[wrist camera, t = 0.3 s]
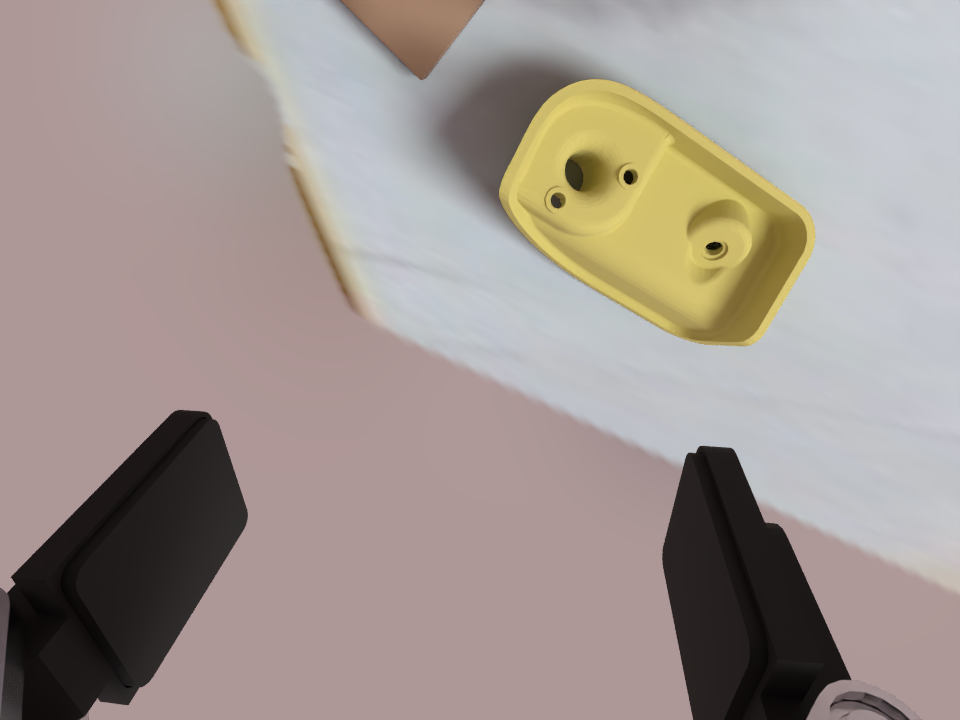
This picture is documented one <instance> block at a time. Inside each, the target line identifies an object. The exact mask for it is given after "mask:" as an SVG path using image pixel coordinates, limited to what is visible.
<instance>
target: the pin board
mask: <svg viewBox="0 0 960 720" xmlns="http://www.w3.org/2000/svg"><path fill="white" fill-rule="evenodd" d="M341 1H342V2H343V3H344V4H345V5H346V6H347V7H348V8H349V9H350V10H351V11H352V12H353V13H354V14H355V15H356V16H357V17H358V18H359V19H360V20H361V21H362V22H363V23H364V24H365V25H366V26H367V27H368V28H369V29H370V30H371V31H372V32H373V33H374V34H375V35H376V36H377V37H378V38H379V39H380V40H381V41H382V42H383V43H384V44H385V45H386V46H387V47H388V48H389V49H390V50H391V51H392V52H393V53H394V54H395V55H396V56H397V57H398V58H399V59H400V60H401V61H402V62H403V63H404V64H405V65H406V66H407V67H408V68H409V69H410V70H411V71H412V72H413V73H414V74H415V75H416V76H417V77H418V78H419V79H420V80H423V79H425V78H426V77H427V76H428V75H429V73H430V72H431V71H432V69H433V68H434V67H435V65H436V64H437V63H438V62H439V60H440V59H441V58H442V56H443V55H444V54H445V52H446V51H447V50H448V48H449V47H450V46H451V44H452V43H453V42H454V40H455V39H456V38H457V36H458V35H459V34H460V33H461V31H462V30H463V29H464V27H465V26H466V25H467V23H468V22H469V21H470V19H471V18H472V17H473V15H474V14H475V13H476V11H477V10H478V9H479V8H480V6H481V5H482V4H483V2H484V1H485V0H341Z"/></svg>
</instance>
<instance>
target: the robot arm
mask: <svg viewBox="0 0 960 720" xmlns="http://www.w3.org/2000/svg"><path fill="white" fill-rule="evenodd" d="M247 518H248V513H247V508H246V505H245V502H244V499H243V496H242V493H241V490H240V487H239V484H238V481H237V478H236V475H235V472H234V469H233V466H232V463H231V459H230V456H229V453H228V450H227V447H226V444H225V441H224V438H223V436H222V432H221V429H220V426H219V424H218V422H217V421H216V420H213V419H212V417H211V416H210V414H209V413H207V412H202V411H187V410H177V411H175V412H173V413H172V414H171V415H170V416H169V417H168V418H167V419H166V420H165V421H164V422H163V423H162V424H161V425H160V426H159V427H158V428H157V429H156V430H155V431H154V432H153V433H152V434H151V435H150V436H149V437H148V438H147V439H146V440H145V441H144V442H143V443H142V444H141V445H140V446H139V447H138V448H137V449H136V450H135V452H134V453H132V454H131V455H130V456H129V458H128V459H126V460H125V461H124V463H123V464H122V465H121V466H120V467H119V468H118V469H117V470H116V471H115V472H114V473H113V474H112V475H111V476H110V477H109V478H108V479H107V480H106V481H105V482H104V483H103V484H102V485H101V486H100V487H99V488H98V489H97V490H96V491H95V492H94V493H93V494H92V495H91V496H90V497H89V498H88V499H87V500H86V501H85V502H84V503H83V504H82V505H81V506H80V507H79V508H78V509H77V510H76V511H75V512H74V513H73V515H71V516H70V517H69V518H68V519H67V521H65V523H64V524H63V525H62V526H61V527H60V528H59V529H58V530H57V531H56V532H55V533H54V534H53V535H52V536H51V537H50V538H49V539H48V540H47V541H46V542H45V543H44V544H43V545H42V546H41V547H40V548H39V549H38V550H37V551H36V552H35V553H34V554H33V555H32V556H31V557H30V558H29V559H28V560H27V561H26V562H25V563H24V564H23V565H22V566H21V567H20V568H19V569H18V570H17V571H16V573H14V575H12V577H11V578H12V579H13V581H14V582H15V585H14V586H13V587H12V588H11V589H10V591H9V592H8V593H6V592H5V591H4V590H3V589H1V588H0V720H89V713H88V711H89V710H90V708H91V707H92V705H93V704H94V702H95V701H96V699H97V698H98V699H99V700H100V702H108V703H116V704H123V705H129V703H130V702H131V700H132V699H133V697H134V695H135V694H136V692H137V690H138V689H139V687H143V686H145V685H146V684H147V683H148V682H149V681H150V680H151V679H152V677H153V676H154V674H155V673H156V671H157V670H158V668H159V666H160V665H161V663H162V661H163V660H164V658H165V656H166V655H167V653H168V652H169V650H170V648H171V647H172V645H173V644H174V642H175V640H176V639H177V637H178V635H179V634H180V632H181V631H182V629H183V627H184V626H185V624H186V622H187V621H188V619H189V617H190V616H191V614H192V613H193V611H194V609H195V608H196V606H197V604H198V603H199V601H200V600H201V598H202V596H203V594H204V593H205V592H206V590H207V588H208V586H209V585H210V583H211V582H212V580H213V579H214V577H215V575H216V574H217V572H218V570H219V569H220V567H221V566H222V564H223V562H224V561H225V559H226V557H227V556H228V554H229V552H230V551H231V549H232V548H233V546H234V545H235V543H236V541H237V540H238V538H239V536H240V535H241V533H242V532H243V530H244V528H245V526H246V523H247ZM662 555H663V557H662V560H663V569H664V574H665V579H666V584H667V589H668V594H669V599H670V604H671V609H672V614H673V619H674V624H675V630H676V635H677V639H678V644H679V650H680V654H681V660H682V665H683V670H684V675H685V680H686V685H687V690H688V695H689V701H690V706H691V711H692V715H693V720H922V719H921V718H920V717H919V716H918V715H917V714H916V712H915V711H913V710H912V709H911V708H910V707H908V706H907V705H906V704H905V703H903V702H902V701H901V700H899V699H898V698H897V697H896V696H894V695H892V694H890V693H888V692H886V691H884V690H882V689H880V688H879V687H877V686H874V685H871V684H868V683H864V682H861V681H858V680H851V678H850V675H849V673H848V671H847V669H846V667H845V664H844V662H843V660H842V658H841V655H840V653H839V651H838V649H837V647H836V644H835V642H834V640H833V638H832V635H831V633H830V631H829V629H828V627H827V624H826V622H825V620H824V618H823V615H822V614H821V611H820V609H819V607H818V604H817V602H816V600H815V598H814V595H813V593H812V591H811V589H810V587H809V585H808V582H807V580H806V578H805V575H804V573H803V571H802V569H801V567H800V564H799V562H798V560H797V558H796V555H795V553H794V551H793V549H792V547H791V544H790V542H789V540H788V538H787V536H786V534H785V532H784V530H783V529H782V528H781V527H780V526H779V525H778V524H774V523H765V522H764V520H763V517H762V515H761V512H760V510H759V507H758V505H757V503H756V500H755V498H754V495H753V493H752V491H751V488H750V486H749V484H748V481H747V479H746V476H745V474H744V472H743V469H742V467H741V464H740V462H739V460H738V457H737V455H736V453H735V451H734V450H733V449H732V448H725V447H710V446H699V448H698V449H697V452H696V453H688V454H687V456H686V459H685V463H684V467H683V471H682V475H681V479H680V482H679V487H678V490H677V494H676V498H675V502H674V506H673V510H672V515H671V518H670V523H669V527H668V530H667V534H666V538H665V542H664V546H663V554H662Z"/></svg>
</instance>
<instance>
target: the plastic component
mask: <svg viewBox="0 0 960 720" xmlns="http://www.w3.org/2000/svg"><path fill="white" fill-rule="evenodd" d="M568 159H569V160H573V161H574V162H576V163H578V165H579V166H580V167H581V169H582V172H583V184H582V187H581V188H580V190H579V191H577V190H575V189H573V188H572V187H571V186H570V185H569V183H568V182H567V180H566V177H565V165H566V162H567V160H568ZM626 170H628V171H630V172H631V173H632V174H633V181H632V183H631V184H630V185H628V184H627V183H625V181H624V179H623V176H624V173H625V171H626ZM552 195H554V196H555V197H557V198H559V199H560V203H561V204H562V205H561V206H560V208H558V209H557V208H554V207H553V206H552V205H551V200H550V199H551V197H552ZM499 198H500V201H501V203H502V206H503V208H504V210H505V211H506V213H507V215H508V216H509V218H510V219H511V220H512V222H513V223H514V224H515V226H516V227H517V228H518V229H519V230H520V232H521V233H522V234H523V235H524V236H525V237H526V238H527V239H528V240H529V241H530V242H531V243H532V244H533V245H534V246H535V247H536V248H537V249H538V250H540V251H541V252H542V253H543V254H544V255H545V256H547V257H548V258H549V259H550V260H551V261H553V262H554V263H555V264H557V265H558V266H559V267H561V268H562V269H563V270H565V271H566V272H568V273H569V274H571V275H572V276H574V277H575V278H577V279H578V280H580V281H581V282H583V283H584V284H586V285H587V286H589V287H591V288H593V289H594V290H596V291H598V292H599V293H601V294H603V295H604V296H606V297H608V298H610V299H611V300H613V301H615V302H616V303H618V304H620V305H622V306H623V307H625V308H627V309H628V310H630V311H632V312H633V313H635V314H637V315H639V316H640V317H642V318H644V319H645V320H647V321H649V322H651V323H652V324H654V325H656V326H657V327H659V328H661V329H663V330H664V331H666V332H668V333H670V334H672V335H675V336H677V337H680V338H682V339H685V340H688V341H692V342H695V343H700V344H705V345H727V346H749V345H752V344H753V343H755V342H757V341H758V340H759V339H760V338H761V337H762V336H763V335H764V333H765V332H766V330H767V328H768V327H769V325H770V323H771V322H772V320H773V318H774V317H775V315H776V313H777V312H778V310H779V308H780V307H781V305H782V303H783V302H784V300H785V298H786V297H787V295H788V293H789V291H790V290H791V288H792V286H793V285H794V283H795V281H796V280H797V278H798V276H799V275H800V273H801V271H802V270H803V268H804V266H805V265H806V263H807V261H808V260H809V258H810V256H811V253H812V251H813V248H814V243H815V227H814V223H813V220H812V218H811V216H810V214H809V212H808V211H807V210H806V209H805V208H804V207H803V206H802V205H801V204H799V203H798V202H796V201H795V200H794V199H792V198H791V197H789V196H788V195H787V194H785V193H784V192H782V191H781V190H780V189H778V188H777V187H775V186H774V185H773V184H771V183H770V182H768V181H767V180H766V179H764V178H763V177H761V176H760V175H759V174H757V173H756V172H754V171H753V170H752V169H750V168H749V167H747V166H746V165H745V164H743V163H742V162H740V161H739V160H737V159H736V158H735V157H733V156H732V155H730V154H729V153H728V152H726V151H725V150H723V149H722V148H721V147H719V146H718V145H716V144H715V143H714V142H712V141H711V140H709V139H708V138H707V137H705V136H704V135H702V134H701V133H700V132H698V131H697V130H695V129H694V128H693V127H691V126H690V125H688V124H687V123H686V122H684V121H683V120H681V119H680V118H679V117H677V116H676V115H674V114H673V113H671V112H670V111H668V110H667V109H665V108H664V107H662V106H661V105H659V104H658V103H656V102H655V101H654V100H652V99H650V98H649V97H647V96H645V95H643V94H642V93H640V92H638V91H636V90H634V89H632V88H630V87H628V86H626V85H623V84H620V83H617V82H614V81H609V80H603V79H589V80H583V81H579V82H576V83H573V84H570V85H568V86H566V87H564V88H562V89H561V90H559V91H558V92H556V93H555V94H553V95H552V96H551V97H550V98H549V99H548V100H547V101H546V102H545V103H544V104H543V105H542V107H541V108H540V109H539V111H538V112H537V114H536V115H535V116H534V118H533V120H532V121H531V123H530V125H529V127H528V129H527V131H526V133H525V135H524V137H523V139H522V141H521V143H520V145H519V147H518V149H517V151H516V153H515V155H514V157H513V159H512V161H511V163H510V164H509V166H508V168H507V170H506V172H505V174H504V177H503V179H502V182H501V186H500V189H499ZM711 242H719V243H721V244H722V246H721V247H720V248H718V249H717V250H709V249H707V248H706V245H707V244H709V243H711Z"/></svg>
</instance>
